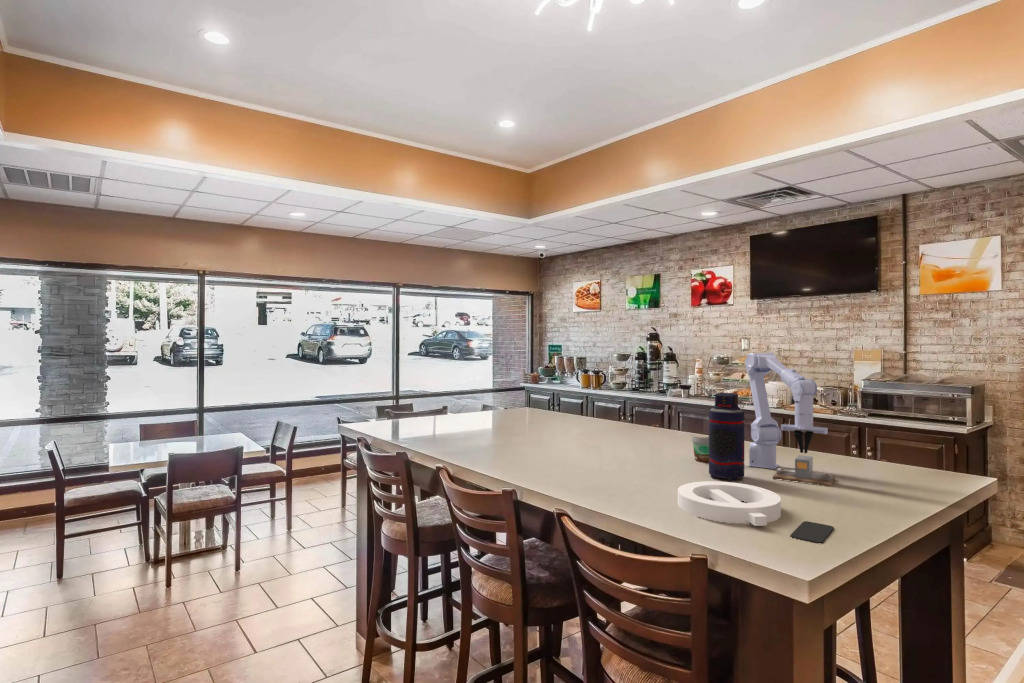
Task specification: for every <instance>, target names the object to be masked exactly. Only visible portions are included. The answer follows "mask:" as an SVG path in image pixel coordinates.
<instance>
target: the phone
mask: <svg viewBox="0 0 1024 683" xmlns="http://www.w3.org/2000/svg"><path fill="white" fill-rule="evenodd" d="M834 529H835V527H834V526H833V525H829V524H825V523H818V522H817V523H816V522H812V521H808V520H805V521H803V522H801V523H800V525H798V526H797V527H796V529H794V530H793V532H791V533H790V535H789V536H790V538H791V537H792V538H791V539H794V538H796V539H795V540H798V539H800V540H799V541H803V540H804V541H805V542H808V541H809V543H814V544H818V543H822V544H824V542H825V541H826V540H827V539H828V538H829V536H830V535H831V534H832V532H833V531H834ZM826 538H827V539H826ZM825 539H826V540H825Z"/></svg>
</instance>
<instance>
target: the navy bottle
mask: <svg viewBox="0 0 1024 683" xmlns="http://www.w3.org/2000/svg"><path fill="white" fill-rule="evenodd" d="M740 401H741V402H742V403H740ZM741 404H742V405H741ZM744 406H745V404H744V401H743V398H741V397H740V396H739V393H737V392H736V393H734V392H718V393H715V394H714V405H713V406H712V407H711V408H710V409H708V419H709V421H708V437H709V459H710V460H709V463H708V474H709V475H710V478H711V477H712V479H713V478H714V479H716V478H722V479H729V481H730V482H737V481H738V479H742V478H744V477H745V422H744V421H745V410H743V409H744Z"/></svg>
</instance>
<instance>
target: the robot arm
mask: <svg viewBox="0 0 1024 683" xmlns="http://www.w3.org/2000/svg"><path fill="white" fill-rule="evenodd" d="M744 364H745V368H746V373H747V375H748V380H749V386H750V391H751V396H752V402H753V403H752V404H753V407H754V412H755V413H754V414H755V420H753V422H752V423H751V424H750V437H751V439H752V441H753V442H750V443H749V449H748V451H749V452H748V454H749V455H748V459H749V462H748V463H749V464H748V467H755V468H761V469H763V468H764V469H770V470H777V469H778V468H779V466H780V464H779V463H777V445H778V444H779V442H780V441H781V439H782V431H789V432H790V431H791V432H793V436H794V437H795V439H796V442H797V444H798V448H799V452H800V453H801V454H802V453H804V454H808V450H809V446H810V443H811V440H812V438H813V437H814V435H815V434H823V435H828V433H829V432H828V427H822V426H821V427H820V426H814V396H815V395H816V394H817V392H818V385H817V382H816V381H814V379H811V378H810V379H808V378H805V376H803V375H801V374H800V373H799V372H798V371H797V369H795V368H787V367H786V366H785V365H784V364H783V363H782V362H781V361H780V360H778V356H777V355H775V354H774V352H749V353H748V354H747V355H746V358H745V360H744ZM771 371H772V372H774V373H776V374H777V375H779V376H780V380H781V382H782V383H784V384H785V385H787V387H789V388H790V391H791V394H792V396H793V398H792V399H793V401H794V424H785V423H783V424H780V427H779V422H778V421H776V420H775V419H774V418H773V417H772V415H771V411H770V405H769V399H768V394H767V389H766V384H765V379H764V378H765V376H767V375H768V374H769V373H771Z"/></svg>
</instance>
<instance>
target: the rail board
mask: <svg viewBox="0 0 1024 683" xmlns="http://www.w3.org/2000/svg"><path fill="white" fill-rule="evenodd" d="M776 479H782V480H781V481H784V480H790V481H789V482H791V481H798V482H797V483H799V482H805V483H804V484H807V483H812V484H811V485H814V484H819V485H818V486H822V485H825V486H824V487H830V486H831V487H832V486H833V484H834V482H835V479H836V478H835V476H833V474H830V473H823V472H815V471H813V472H811V474H810V479H802V478H795V469H790V468H789V469H787V468H783V467H782V468H781V467H777V468H776V473H775V474H773V476H772V480H776Z"/></svg>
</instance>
